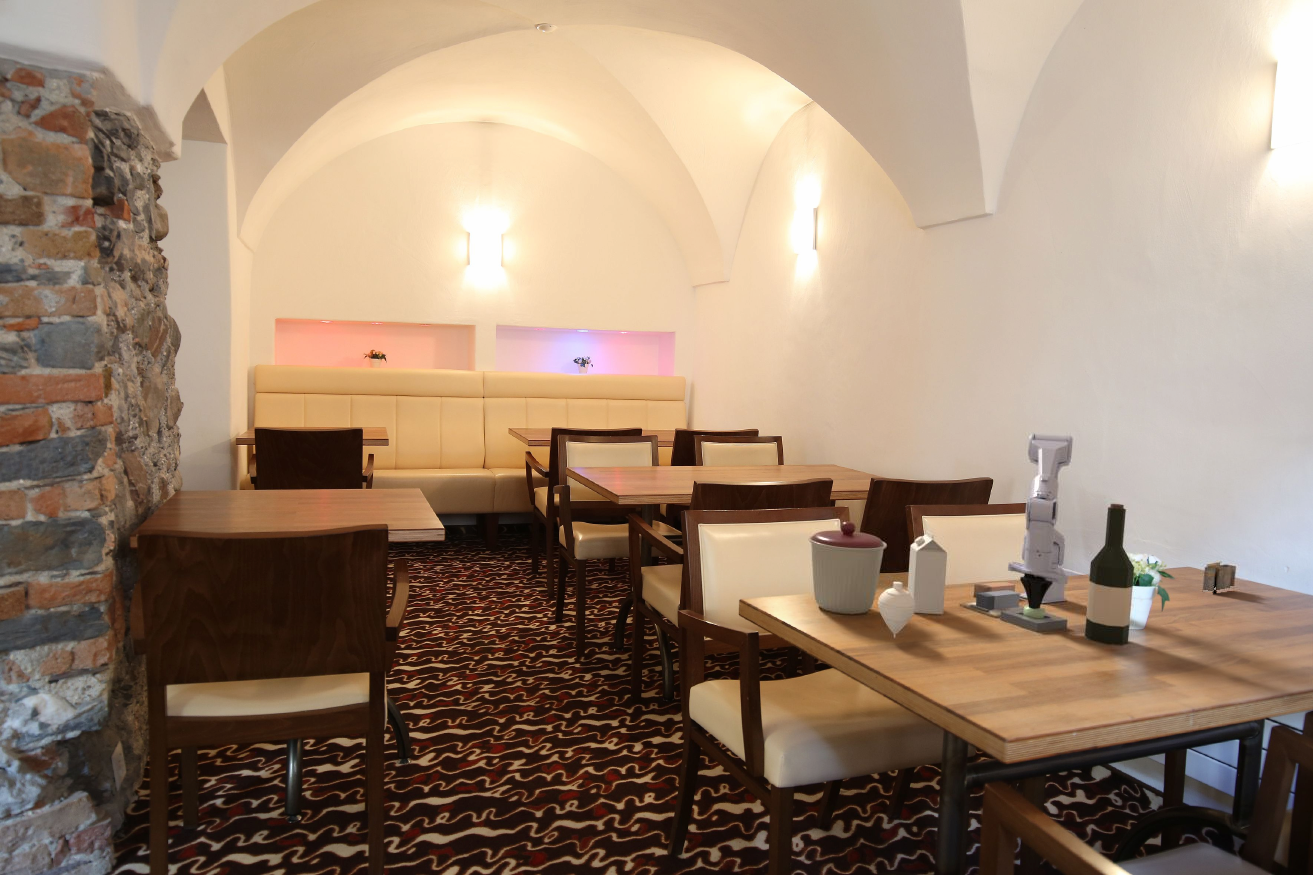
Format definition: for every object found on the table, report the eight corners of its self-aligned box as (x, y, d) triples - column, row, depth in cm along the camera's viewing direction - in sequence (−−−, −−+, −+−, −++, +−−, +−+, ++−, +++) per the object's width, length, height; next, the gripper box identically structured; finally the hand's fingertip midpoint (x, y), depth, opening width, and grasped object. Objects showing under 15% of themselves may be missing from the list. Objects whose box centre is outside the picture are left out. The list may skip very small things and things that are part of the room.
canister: (826, 594, 208) (831, 513, 206) (894, 609, 196) (900, 523, 195) (791, 607, 194) (795, 520, 192) (861, 624, 182) (867, 531, 181)
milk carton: (936, 607, 200) (941, 530, 199) (943, 615, 193) (948, 536, 192) (906, 605, 201) (911, 529, 200) (912, 613, 194) (917, 534, 193)
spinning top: (915, 645, 169) (918, 588, 168) (877, 641, 170) (880, 584, 170) (911, 634, 176) (914, 579, 176) (874, 630, 178) (878, 576, 177)
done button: (1031, 617, 192) (1032, 604, 192) (1048, 622, 188) (1049, 609, 188) (1018, 618, 190) (1019, 606, 190) (1034, 624, 186) (1035, 611, 186)
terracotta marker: (1003, 594, 217) (1004, 581, 216) (1014, 597, 214) (1015, 584, 213) (973, 597, 212) (974, 584, 212) (984, 600, 209) (984, 587, 209)
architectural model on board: (1214, 596, 226) (1217, 562, 226) (1202, 593, 229) (1205, 559, 228) (1235, 593, 232) (1238, 559, 231) (1223, 590, 235) (1226, 557, 234)
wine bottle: (1084, 640, 177) (1095, 504, 175) (1084, 631, 185) (1095, 500, 183) (1128, 647, 174) (1140, 508, 172) (1127, 638, 181) (1138, 504, 179)
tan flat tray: (999, 601, 209) (999, 597, 209) (1036, 612, 199) (1036, 608, 199) (959, 605, 203) (959, 601, 203) (995, 617, 193) (995, 613, 193)
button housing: (1029, 615, 196) (1030, 607, 196) (1066, 627, 187) (1067, 619, 187) (1000, 619, 191) (1000, 611, 191) (1036, 631, 182) (1037, 623, 182)
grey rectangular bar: (1007, 603, 205) (1008, 589, 204) (1018, 606, 202) (1019, 593, 201) (975, 606, 200) (976, 593, 200) (986, 610, 197) (987, 596, 197)
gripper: (1000, 544, 193) (996, 601, 194) (1054, 557, 180) (1049, 618, 181) (1021, 543, 196) (1017, 598, 197) (1075, 556, 183) (1071, 615, 184)
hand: (1034, 608), depth 189 cm, fingers closed, pressing on done button
